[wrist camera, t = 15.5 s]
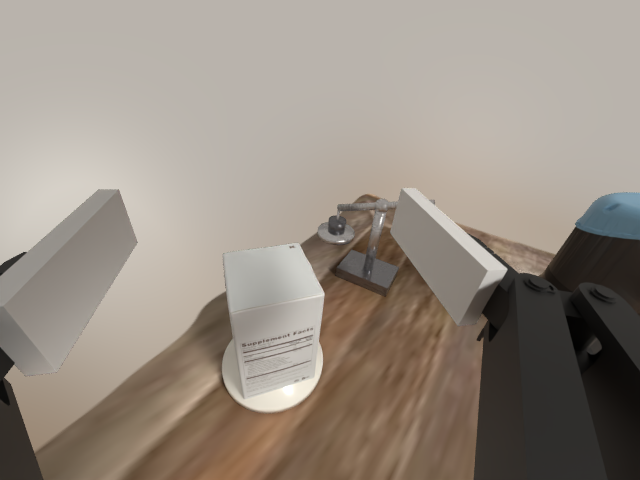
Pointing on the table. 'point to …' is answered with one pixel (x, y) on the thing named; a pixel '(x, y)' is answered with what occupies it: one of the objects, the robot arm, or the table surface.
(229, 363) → the cream dish
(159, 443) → the table surface
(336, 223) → the balance
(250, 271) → the supplement box
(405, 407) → the table surface
